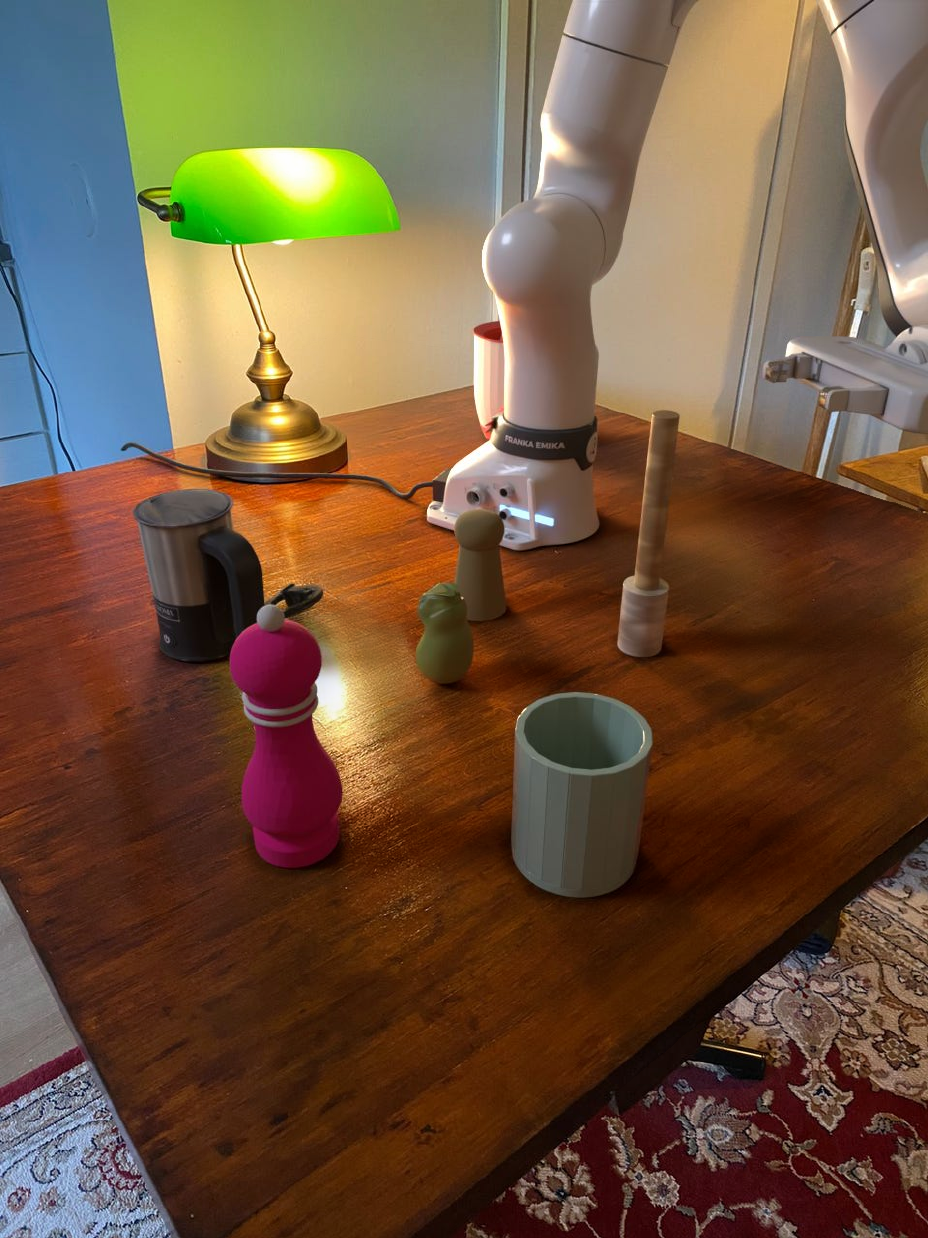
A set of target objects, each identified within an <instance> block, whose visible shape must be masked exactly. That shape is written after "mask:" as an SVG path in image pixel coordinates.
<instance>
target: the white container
mask: <svg viewBox="0 0 928 1238" xmlns="http://www.w3.org/2000/svg"><path fill="white" fill-rule="evenodd" d="M472 334H473V337H474V339H473V340H474V341H473V343H474V344H473V345H474V347H473V351H474V353H473V356H474V357H473V361H474V362H473V390H474V392H473V393H474V402H475V408H476V413H477V416H478V420H479V425H480V427H481V430H482V432H483V434H484V437H485V438H486V439H487V440H488V441H490V439H491V431H489V432H488V433H485V430H486V428H487V427H488V426H485V424H486V423H488V422H489V421H491V418H492V417H493V416H495V415H497V414H498V413H499V410H500V409H501V408H502V407H504V395H505V352H504V341H503V335H502V329H501V323H500V320H496V321H495V320H493V321H489V322H485V323H480V324H478V325H476V326H475V327H474V328H473V329H472Z"/></svg>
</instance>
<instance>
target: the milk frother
mask: <svg viewBox="0 0 928 1238" xmlns="http://www.w3.org/2000/svg"><path fill="white" fill-rule="evenodd" d="M233 500H234V499H233V498H232V497H231V496H230V494H229V495H228V493H225V492H222V491H219V490H214V489H208V488H207V489H206V488H185V489H176V490H171V491H166V492H162V493H158V494H155V495H153V496H150V497H148V498H147V497H146V498H145V499H144V500H142V501H140V502H139V503H137V504H135V506H134V507H133V509H132V517H133V519H134V520H135V521H136V522H137V528H138V532H139V536H140V542H141V547H142V552H143V557H144V561H145V566H146V571H147V575H148V580H149V585H150V589H151V593H152V597H153V602H154V607H155V612H156V618H157V623H158V624H157V625H158V630H159V640H158V643H159V644H158V645H159V649H160V650H161V652H162V653H163V654H164V655H166V656H167V657H169V658H171V659H174V660H176V661H181V662H192V663H193V662H196V663H198V662H207V661H214V660H218V659H221V658H224V657H228V656H230V653H231V649H232V646H233V644H234V642H235V640H236V639H237V637H238V636H239V635H240V634H241V633H242V632H243V631H244V630H245V629H247V628H248V627H250V626H252V625H254V624H256V623H257V614H258V612H259V610H260V609H261V608H262V607H264V606H266V605H276V606H278V604H279V603H281V602H283V601H284V602H285V603H286V606H287V607H286V608H281V610H282V611H283V613H284V615H285V620H287V619H289V618H291V617H294V616H296V615H299V614H301V613H303V612H304V611H307V610H308V609H310V608H312V607H313V606H315V605H316V604H317V603H318V602H320V601H321V600H322V598H323V596H324V589H323V588H322V587H321V586H320V585H317V584H305V585H301V586H300V585H299V586H298V585H295V583H288V585H286V586H285V587H283V588H282V589H280V590H278V591H277V595H273V596H272V597H271V598H269V599H267V600H266V601H265V591H264V580H263V579H264V578H263V569H262V565H261V561H260V558H259V556H258V554H257V552H256V550H255V548H254V547H253V545H252V544H251V542H250V541H249V540H248V539H247V538H246V537H245V536H244V535H243V534H241V533H240V532H238V531H236V530H234V522H233V516H232V508H233V506H234V501H233Z"/></svg>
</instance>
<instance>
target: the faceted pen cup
mask: <svg viewBox="0 0 928 1238" xmlns="http://www.w3.org/2000/svg"><path fill="white" fill-rule="evenodd" d="M515 723H516V724H515V729H514V730H515V731H514V752H513V754H514V755H513V778H512V779H513V781H512V783H513V784H512V807H511V809H512V811H511V832H510V833H511V837H510V840H511V841H510V844H511V855H512V859H513V861H514V863H515V865H516V867H517V869H518V870H519V872H520V873H521V874H522V875H523V876H524V878H526V879H527V880H528V881H529V882H530V883H532V884H534V885H535V886H536V887H538V888H540V889H542V890H544V891H546V892H548V893H551V894H554V895H557V896H561V897H565V898H566V897H567V898H575V899H578V898H579V899H581V898H583V899H584V898H585V899H586V898H594V897H599V896H603V895H607V894H609V893H611V892H613V891H616V890H617V889H618V888H620V887H622V886H623V885H624V884H625V883H626V882H627V881H628V880H629V879H630V878H631V876H632V875H633V873H634V871H635V869H636V866H637V860H638V857H639V851H640V845H641V844H640V843H641V836H642V827H643V823H644V822H643V820H644V813H645V805H646V799H647V791H648V783H649V776H650V775H649V774H650V767H651V759H652V753H653V752H652V751H653V745H654V740H653V729H652V728H651V726H650V724H649V723H648V721H647V719H646V718H645V717H644V716H643V715H642V714H641V713H639V712H638V711H637V710H636V709H635V708H634V707H632V706H630V705H629V704H626V703H624V702H622V701H621V700H618V699H616V698H613V697H609V696H605V695H602V694H599V693H594V692H593V693H592V692H582V691H581V692H580V691H571V692H562V693H554V694H551V695H548V696H544V697H542V698H539V699H537V700H535V701H534V702H532V703H530V704H529V705H528V706H526V707H525V708H524V709H523V710H522V712H521V713H520V714H519V716H518V717H517V719H516V722H515Z"/></svg>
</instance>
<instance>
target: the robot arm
mask: <svg viewBox="0 0 928 1238" xmlns="http://www.w3.org/2000/svg"><path fill="white" fill-rule="evenodd" d="M699 1H700V0H572V1H571V5H570V8H569V11H568V15H567V17H566V21H565V25H564V28H563V34H562V36H561V39H560V43H559V47H558V50H557V54H556V58H555V62H554V66H553V69H552V73H551V77H550V81H549V84H548V89H547V92H546V96H545V101H544V104H543V108H542V111H541V115H540V131H541V154H540V163H539V164H540V165H539V174H538V182H537V187H536V190H535V194H534V196H533V198H531V199H528V200H524V201H521V202H519V203H517V204H515V205H514V206H512V207H511V208H510V209H509V210H508V211H506V212H505V213H504V214H503V215H502V217H500V219H498V221H497V222H496V223H495V225H493V227H492V229H490V231H489V233H488V235H487V236H486V239H485V242H484V245H483V249H482V254H481V255H482V259H481V262H482V270H483V274H484V275H483V276H484V279H485V280H486V283H487V285H488V287H489V288H490V290H491V291H492V293H493V294H494V296H495V301H496V305H497V312H498V317H499V321H500V323H501V329H502V335H503V341H504V352H505V395H504V407H502V408H501V409H500V410H499V413H498V414H497V415H495V416H493V417H492V418H491V421H489V422H488V423H486V424H485V426H488V427H487V428H486V430H485V433H488V432H489V431H491V439H490V440H488V441H487V442H485V443H484V444H482V445H480V446H479V447H477V448H476V449H475V450H473V451H472V452H471V453H469V454H468V455H466V456H465V457H463V458H462V459H461V460H459V461H458V462H457V463H456V464H455V465H454V466H453V468H449V467H448V468H446V469H445V470H443V471H442V472H441V473H440V474H438V475H437V476H435V477H434V478H433V479H432V481H423V482H419V483H417V484H415V485H413V486H412V488H411V489H409V492H406V493H404V492H403V493H402V492H400V491H399V490H398V489H396V488H395V487H394V486H393V485H392V484H391V483H390V482H389V481H387V480H385V479H383V478H380V477H377V476H372V475H365V474H357V473H356V474H355V473H354V474H353V473H327V472H326V473H325V472H324V473H323V472H321V473H320V472H248V471H245V472H244V471H231V470H230V471H229V470H220V469H219V470H218V469H211V468H204V467H199V466H194V465H190V464H187V463H184V462H180V461H177V460H174V459H172V458H170V457H168V456H165V455H163V454H160V453H157V452H155V451H153V450H152V449H149V448H148V447H146V446H145V445H142V444H140V443H137V442H132V441H130V442H127V443H125V444H124V445H123V446H122V447H121V448H120V451H121V452H126V451H127V450H128V449H129V448H135V449H138V450H140V451H142V452H143V453H145V454H147V455H148V456H150V457H152V458H154V459H157V460H160V461H162V462H165V463H167V464H169V465H171V466H174V467H176V468H180V469H182V470H187V471H190V472H195V473H200V474H205V475H214V476H222V477H233V478H234V477H235V478H252V479H253V478H255V479H256V478H258V479H259V478H261V479H327V480H329V479H330V480H335V479H336V480H358V481H367V482H372V483H375V484H380V485H382V487H384V488H386V489H387V490H388V491H389V492H390V493H392V494H393V495H394V496H396V497H398V498H400V499H402V500H403V499H404V500H406V499H408V500H409V499H411V498H413V497H414V496H415V495H416V493H417V491H418V490H421V489H423V488H432V501H431V503H430V504H429V505H428V508H427V509H426V510H427V511H426V522H428V523H429V524H433V525H435V526H437V527H438V526H439V527H441V528H444V529H447V530H452V531H454V526H455V522H456V520H457V518H458V517H459V515H461V514H462V513H464V512H466V511H469V510H474V509H485V510H490V511H492V512H495V513H497V514H498V515H499V516H500V517H501V519H502V521H503V523H504V527H505V528H504V535H503V539H502V541H501V542H500V544H499V547H500V546H501V547H504V548H507V549H510V550H514V551H527V550H531V549H534V548H539V547H543V546H556V545H565V544H566V545H567V544H572V543H575V542H580V541H582V540H585V539H587V538H588V537H590V536H592V535H593V534H595V533H596V532H597V531H598V529H599V528H600V520H599V515H598V511H597V506H596V499H595V491H594V489H595V488H594V474H593V473H594V472H593V471H594V470H593V465H594V464H595V459H596V456H597V449H598V417H597V416H596V414H595V412H596V400H597V386H598V375H599V374H598V372H599V360H600V353H599V349H598V347H597V344H596V341H595V336H594V335H595V334H594V327H593V315H592V303H591V299H592V288H593V286H594V285H595V284H597V283H599V282H600V281H601V280H602V279H604V278H605V277H606V276H607V275H608V274H609V272H611V269H612V268H613V266H614V264H615V263H616V261H617V258H618V257H619V254H620V251H621V248H622V246H623V241H624V240H623V239H624V231H625V227H626V225H627V220H628V216H629V211H630V207H631V202H632V198H633V193H634V188H635V184H636V183H635V182H636V177H637V172H638V171H637V170H638V166H639V163H640V158H641V154H642V150H643V147H644V143H645V141H646V137H647V133H648V131H649V127H650V124H651V121H652V118H653V116H654V113H655V110H656V106H657V103H658V101H659V98H660V94H661V91H662V87H663V85H664V81H665V79H666V76H667V75H666V74H667V72H668V69H669V66H670V64H671V60H672V57H673V55H674V51H675V48H676V44H677V41H678V38H679V36H680V33H681V30H682V27H683V25H684V22H685V21H686V19H687V17H688V15H689V13H690V11H691V10H692V9H693V7H694V6H695V5H696V4H697V3H698V2H699ZM815 1H816V3H817V6H818V8H819V9H820V12H821V14H822V17H823V19H824V22H825V25H826V28H827V30H828V32H829V35H830V36H831V40H832V43H833V46H834V49H835V52H836V54H837V58H838V61H839V65H840V68H841V69H840V70H841V74H842V79H843V85H844V93H845V112H844V113H845V114H844V118H843V135H844V136H843V137H844V142H845V147H846V153H847V157H848V161H849V166H850V170H851V173H852V177H853V182H854V184H855V185H854V186H855V188H856V193H857V195H858V199H859V204H860V208H861V210H862V214H863V217H864V221H865V225H866V229H867V232H868V236H869V239H870V242H871V246H872V250H873V255H874V258H875V259H874V260H875V263H876V270H877V278H878V279H877V282H878V301H879V307H880V312H881V315H882V318H883V321H884V322H885V324H886V326H887V327H888V329H889V330H890V332H891V333H892V334H893V336H895V338H894V340H893V341H892V343H891V344H889V345H888V346H886V347H885V346H884V345H880V344H877V343H876V342H875V343H874V342H872V341H869V340H866V339H864V338H860V337H855V336H842V335H840V336H838V335H837V336H836V335H835V336H834V335H832V336H831V335H829V336H827V335H825V336H799V337H798V336H797V337H795V338H792V339H791V340H789V341H788V343H787V345H786V349H785V356H784V357H782V358H779V359H768V360H766V361H765V362H764V363H763V368H762V374H761V375H762V378H763V379H764V380H766V381H768V382H770V383H773V384H776V383H787V381H788V379H794V380H796V381H798V382H800V383H802V384H804V385H806V386H808V387H811V388H813V389H815V390H817V391H819V392H820V394H819V397H820V398H819V399H818V406H819V407H820V408H821V409H823V410H826V411H827V412H829V413H839V412H847V413H856V414H862V415H869V416H871V417H873V418H876V419H877V420H880V421H882V422H884V423H887V425H890V426H893V427H894V428H896V429H898V430H901V431H904V432H908V433H911V434H912V433H913V434H919V435H928V185H927V180H926V178H925V173H924V167H923V165H922V158H921V146H922V145H921V144H922V138H923V133H924V131H925V128H926V125H927V122H928V0H815Z"/></svg>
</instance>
